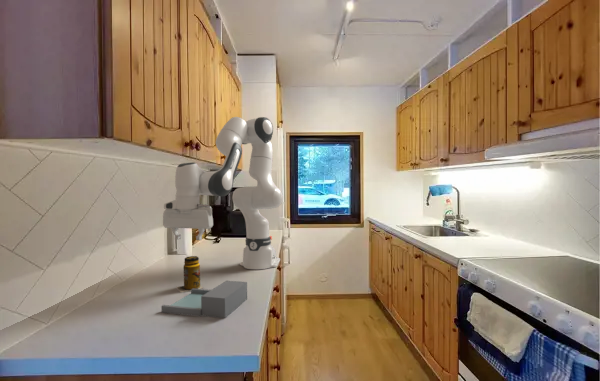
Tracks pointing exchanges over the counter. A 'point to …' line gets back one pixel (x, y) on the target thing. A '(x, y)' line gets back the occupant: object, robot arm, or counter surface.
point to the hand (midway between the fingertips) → (188, 239)
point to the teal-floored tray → (211, 301)
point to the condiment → (191, 274)
